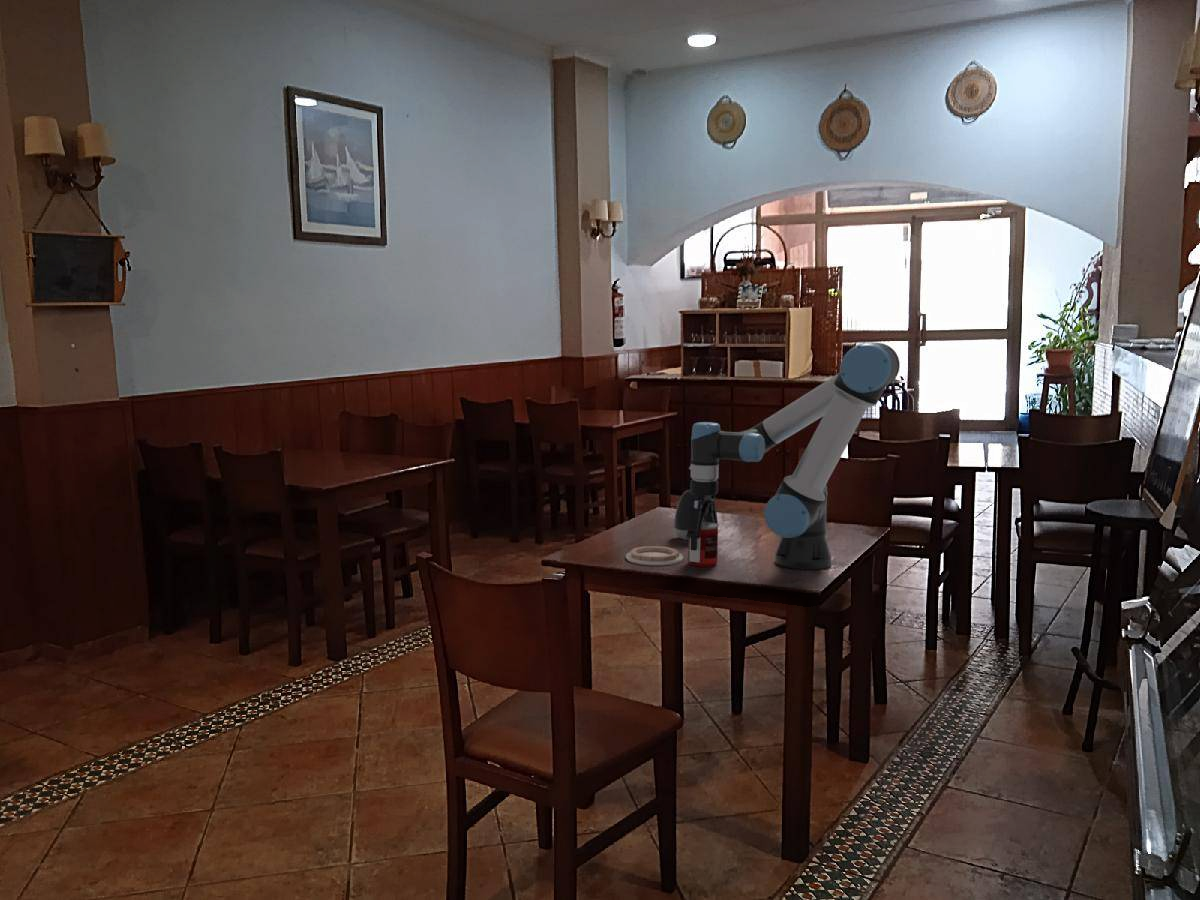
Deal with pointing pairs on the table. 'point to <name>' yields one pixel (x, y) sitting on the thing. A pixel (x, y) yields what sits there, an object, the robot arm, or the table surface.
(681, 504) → the dark grey rounded dome
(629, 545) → the table surface
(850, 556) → the table surface
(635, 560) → the dish
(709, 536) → the canned food
